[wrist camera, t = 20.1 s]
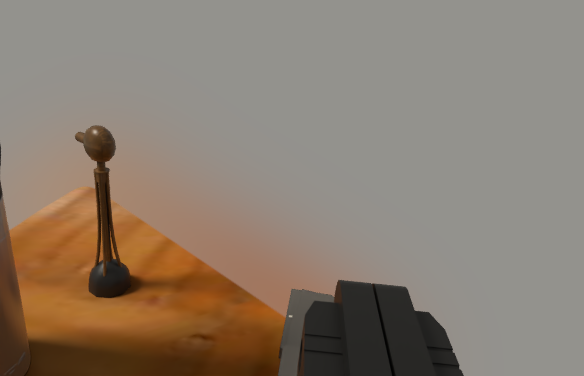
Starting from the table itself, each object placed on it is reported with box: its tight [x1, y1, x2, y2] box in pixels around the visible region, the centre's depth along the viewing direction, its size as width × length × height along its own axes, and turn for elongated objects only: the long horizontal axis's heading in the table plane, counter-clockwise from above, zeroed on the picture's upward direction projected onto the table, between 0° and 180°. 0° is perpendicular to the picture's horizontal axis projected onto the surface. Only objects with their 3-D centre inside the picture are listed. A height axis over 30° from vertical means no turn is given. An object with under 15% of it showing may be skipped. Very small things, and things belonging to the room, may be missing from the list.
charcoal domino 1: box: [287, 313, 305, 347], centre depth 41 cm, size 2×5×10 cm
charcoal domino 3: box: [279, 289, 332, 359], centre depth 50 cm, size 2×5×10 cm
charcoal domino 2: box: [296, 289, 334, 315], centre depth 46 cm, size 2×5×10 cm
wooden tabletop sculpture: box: [75, 126, 131, 298], centre depth 50 cm, size 6×5×20 cm
